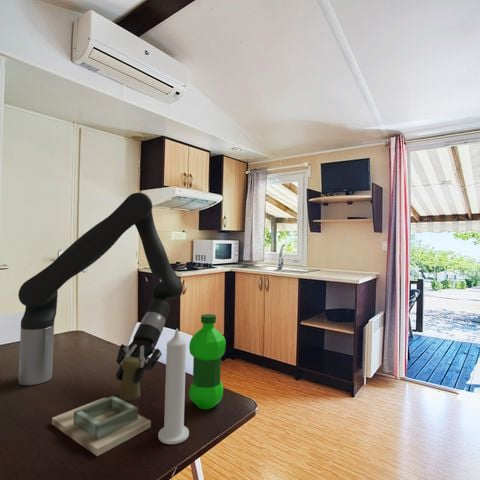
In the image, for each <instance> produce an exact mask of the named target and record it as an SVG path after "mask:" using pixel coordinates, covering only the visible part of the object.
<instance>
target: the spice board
mask: <svg viewBox="0 0 480 480" xmlns="http://www.w3.org/2000/svg"><path fill="white" fill-rule="evenodd" d="M51 425H53V427H55V428H57V429H58V430H59V431H60V432H62V433H63V434H65V435H66V436H68V437H69V438H70V439H72V440H73V441H74V442H76V443H77V444H79V445H80V446H81V447H84V448H85V449H86V450H88V451H89V452H91V454H93V455H95V456H96V457H99V456H100V455H103V454H104V453H106V452H108V451H110V450H112V449H113V448H115V447H117V446H119V445H120V444H122V443H125V442H126V441H128V440H131V439H132V438H134V437H135V436H137V435H139V434H140V433H143V432H144V431H146V430H149V429H150V428H151V427H152V426H151V425H152V421H151V419H148V418H147V417H144V416H142V415H140V414H139V408H138V406H135V405H133V404H131V403H129V402H128V401H124V400H121V399H120V398H119V397H117V396H114V395H112V396H109V397H102V398H99V399H97V400H93V401H91V402H89V403H86V404H83V405H81V406H79V407H76V408H73V409H72V410H69V411H66V412H63V413H61V414H58V415H56V416H53V417H51Z"/></svg>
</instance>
